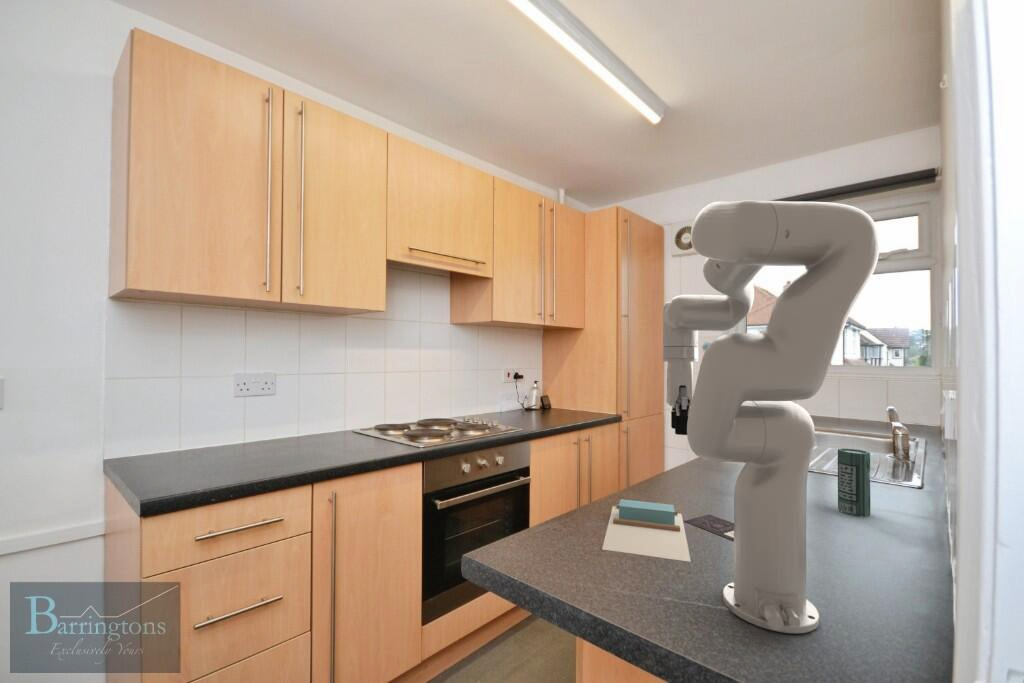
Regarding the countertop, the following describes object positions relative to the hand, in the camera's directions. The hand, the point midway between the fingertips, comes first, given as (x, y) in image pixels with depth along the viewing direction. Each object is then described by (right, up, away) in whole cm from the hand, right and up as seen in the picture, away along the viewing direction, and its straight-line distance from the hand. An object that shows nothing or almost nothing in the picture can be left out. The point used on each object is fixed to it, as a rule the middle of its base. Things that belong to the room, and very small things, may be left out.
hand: (680, 431), depth 101 cm
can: (+47, -22, +10) cm, 53 cm away
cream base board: (-9, -21, -4) cm, 23 cm away
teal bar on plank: (-7, -21, +2) cm, 22 cm away
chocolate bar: (+10, -22, -4) cm, 24 cm away
